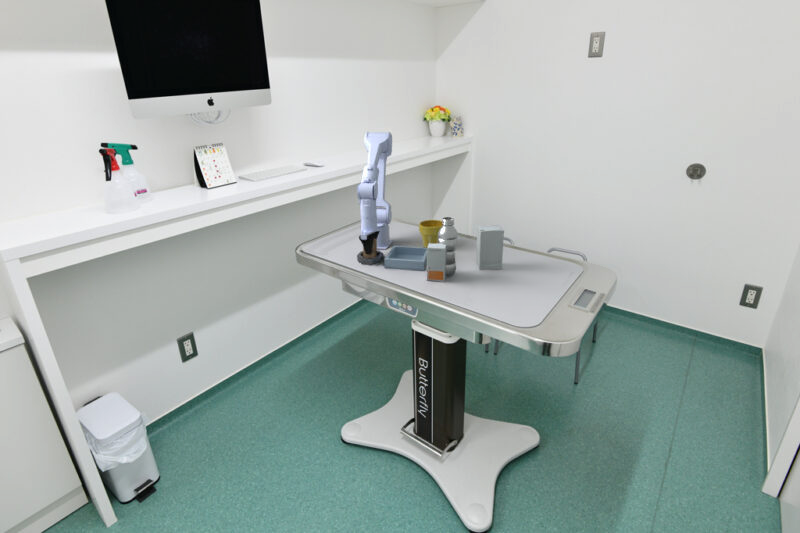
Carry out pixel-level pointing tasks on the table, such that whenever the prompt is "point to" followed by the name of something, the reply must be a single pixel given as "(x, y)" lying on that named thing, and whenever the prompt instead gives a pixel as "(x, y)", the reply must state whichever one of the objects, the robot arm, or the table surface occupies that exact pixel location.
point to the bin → (406, 258)
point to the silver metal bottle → (449, 244)
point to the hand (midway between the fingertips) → (370, 251)
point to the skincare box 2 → (489, 247)
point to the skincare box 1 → (436, 262)
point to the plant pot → (430, 231)
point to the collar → (370, 259)
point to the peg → (374, 250)
